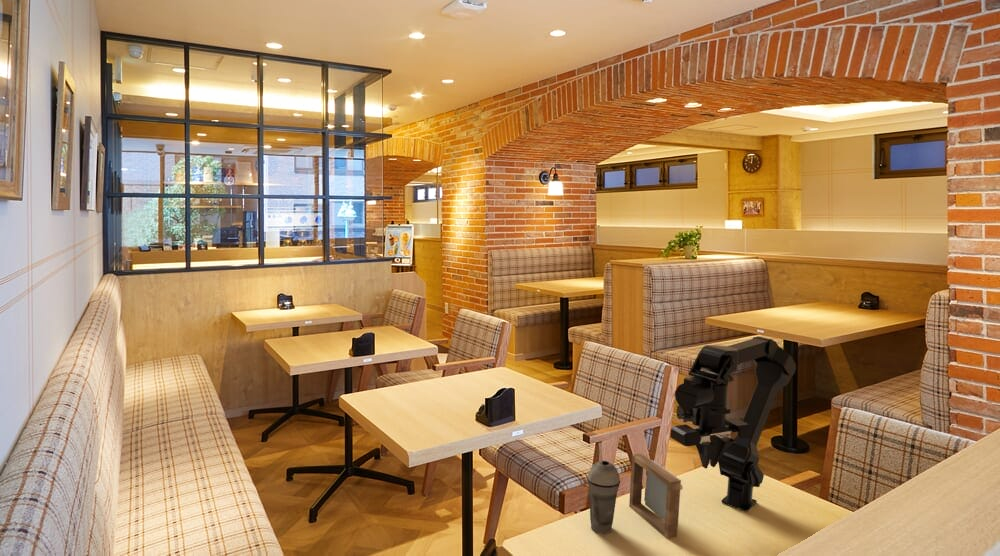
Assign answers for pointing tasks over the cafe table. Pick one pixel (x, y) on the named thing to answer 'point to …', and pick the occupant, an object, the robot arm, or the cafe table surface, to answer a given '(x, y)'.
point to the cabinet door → (657, 494)
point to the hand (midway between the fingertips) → (708, 467)
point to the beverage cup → (602, 494)
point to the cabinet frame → (672, 497)
